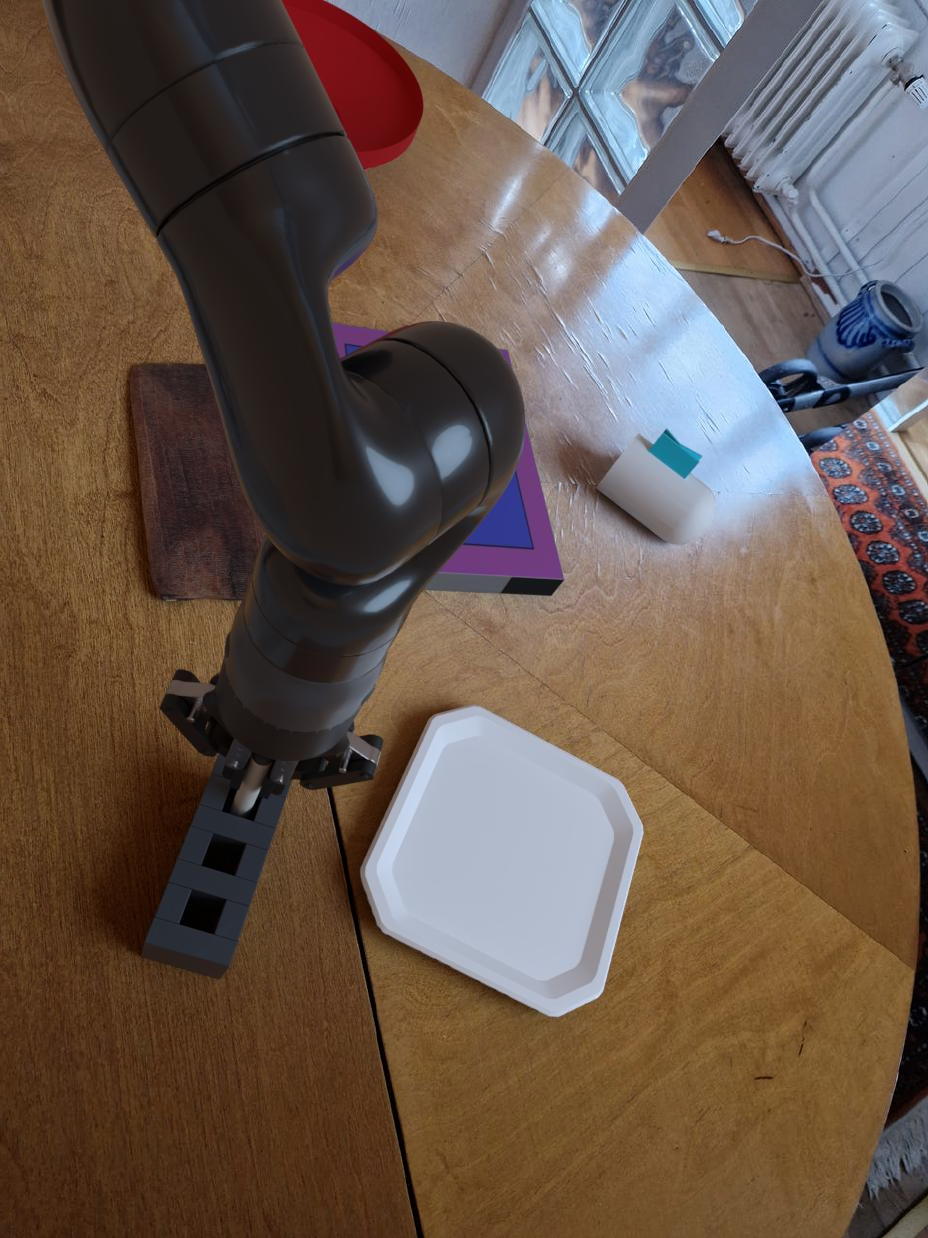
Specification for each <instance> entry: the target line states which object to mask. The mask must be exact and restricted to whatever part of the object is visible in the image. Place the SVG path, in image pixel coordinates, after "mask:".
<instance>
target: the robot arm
mask: <svg viewBox="0 0 928 1238" xmlns="http://www.w3.org/2000/svg"><path fill="white" fill-rule="evenodd" d="M41 4H42V7H43V11H44V14H45V17H46V21H47V25H48V28H49V32H50V35H51V38H52V40H53V43H54V46H55V49H56V52H57V55H58V57H59V60H60V62H61V65H62V67H63V70H64V72H65V74H66V76H67V80H68V81H69V84H70V86H71V88H72V91H73V94H74V95H75V97H76V100H77V101H78V104H79V106H80V107H81V110H82V111H83V113H84V116H85V118H86V120H87V121H88V123H89V126H90V127H91V129H92V131H93V133H94V135H95V136H96V138H97V140H98V142H99V144H100V145H101V147H102V148H103V150H104V153H105V154H106V156H107V157H108V160H109V161H110V163H111V165H112V167H113V168H114V170H115V172H116V174H117V175H118V177H119V178H120V181H121V182H122V184H123V186H124V188H125V189H126V192H127V193H128V195H129V196H130V198H131V200H132V201H133V203H134V205H135V207H136V209H137V210H138V212H139V214H140V216H141V217H142V219H143V221H144V223H145V224H146V226H147V228H148V230H149V232H150V233H151V235H152V236H153V237H154V239H156V242H157V245H158V247H159V249H160V250H161V252H162V254H163V255H164V257H165V258H166V260H167V262H168V263H169V265H170V267H171V269H172V271H173V273H174V276H175V277H176V279H177V283H178V285H179V287H180V290H181V292H182V293H181V294H182V295H183V298H184V301H185V304H186V308H187V310H188V315H189V317H190V320H191V323H192V327H193V330H194V334H195V337H196V340H197V344H198V347H199V350H200V353H201V357H202V359H203V362H204V364H205V365H206V368H207V371H208V374H209V377H210V381H211V384H212V388H213V391H214V395H215V398H216V402H217V406H218V409H219V413H220V417H221V421H222V425H223V429H224V432H225V436H226V440H227V444H228V448H229V451H230V455H231V459H232V462H233V466H234V469H235V472H236V475H237V478H238V481H239V484H240V487H241V489H242V492H243V495H244V497H245V499H246V501H247V504H248V506H249V508H250V510H251V512H252V514H253V516H254V518H255V519H256V521H257V522H258V524H259V525H260V527H261V528H262V530H263V531H264V533H265V536H264V538H263V541H262V543H261V545H260V547H259V550H258V552H257V556H256V559H255V563H254V567H253V570H252V574H251V578H250V581H249V585H248V589H247V593H246V595H245V597H244V598H243V600H242V601H240V603H239V606H238V608H237V610H236V612H235V615H234V618H233V621H232V624H231V627H230V630H229V631H228V633H227V634H226V638H225V642H224V651H223V652H224V654H223V659H222V663H221V666H220V669H219V672H217V673H215V674H214V675H212V677H211V678H210V680H209V682H201V681H200V680H199V679H198V677H197V676H196V674H195V673H193V672H191V671H190V670H187V669H183V668H178V669H176V670H175V672H174V674H173V676H172V679H171V680H170V682H169V684H168V687H167V688H166V690H165V693H164V696H163V698H162V701H161V703H160V705H159V710H160V711H161V712H162V713H163V715H164V716H165V717H166V718H167V719H168V720H169V721H170V723H171V724H173V726H174V727H175V728H176V730H178V732H180V733H181V735H182V736H183V737H184V738H185V739H186V740H187V741H188V742H189V743H190V745H191V746H192V747H193V748H194V749H195V750H196V751H197V752H198V753H199V754H201V755H203V756H204V757H209V758H214V757H217V755H218V754H221V755H222V756H224V757H225V761H224V764H225V765H224V768H223V771H222V776H223V777H224V778H226V779H229V780H231V782H230V785H229V787H231V788H234V789H237V790H239V789H240V786H241V783H242V781H243V778H244V776H245V773H246V771H247V768H248V765H249V763H250V760H251V754H252V752H254V753H256V754H258V755H261V756H263V757H266V758H269V759H274V760H273V762H272V764H271V765H270V767H269V770H268V772H267V774H266V776H265V779H264V781H263V783H262V785H261V788H260V791H259V794H258V796H259V797H262V798H265V799H268V798H269V796H270V794H271V793H272V794H275V795H280V794H282V793H283V790H284V789H285V787H286V785H287V784H288V783H289V781H290V780H292V779H293V780H296V781H299V783H298V784H299V785H300V787H302V788H304V789H305V790H308V791H317V790H324V789H329V788H335V787H340V786H346V785H351V784H357V783H363V782H369V781H372V780H374V779H375V776H376V772H377V768H378V765H379V761H380V759H381V758H380V757H381V754H382V750H383V747H384V743H385V740H384V739H383V738H382V737H381V736H379V735H377V734H371V733H368V734H363V735H357V734H356V733H354V731H355V727H356V726H355V719H356V718H357V716H358V714H359V712H360V710H361V709H362V707H363V706H364V704H365V703H367V702H368V701H369V699H370V698H371V697H372V694H373V693H374V691H375V689H376V685H377V682H378V680H379V678H380V676H381V674H382V671H383V669H384V666H385V664H386V661H387V656H388V653H389V651H390V648H391V647H392V645H393V644H394V642H395V640H396V638H397V636H398V635H399V633H400V631H401V629H402V628H403V627H404V624H405V622H406V620H407V618H408V617H409V614H410V612H411V610H412V608H413V606H414V604H415V602H416V601H417V599H418V597H420V595H421V593H422V592H423V591H425V590H424V588H425V587H426V585H427V584H428V583H429V582H430V581H431V579H432V578H433V577H434V576H435V575H436V574H437V573H438V572H439V570H440V569H441V568H442V567H443V566H444V565H445V564H446V563H447V562H448V561H449V560H450V558H451V557H452V556H453V555H454V554H455V553H456V552H457V550H458V549H459V548H460V547H461V546H462V544H463V543H464V542H465V541H466V540H467V539H468V537H469V536H470V535H471V534H472V533H473V532H474V530H475V529H476V528H477V527H478V526H479V524H480V523H481V522H482V521H483V519H484V518H485V517H486V516H487V514H488V513H489V512H490V511H491V509H492V508H493V507H494V505H495V504H496V503H497V501H498V500H499V499H500V497H501V496H502V494H503V493H504V491H505V490H506V488H507V486H508V485H509V483H510V481H511V479H512V477H513V475H514V473H515V471H516V468H517V466H518V463H519V460H520V457H521V453H522V448H523V444H524V438H525V421H526V408H525V402H524V397H523V392H522V389H521V386H520V385H521V384H520V383H519V380H518V378H517V375H516V373H515V371H514V368H513V366H512V367H511V365H510V364H509V362H508V361H507V359H506V358H505V357H504V355H503V354H502V353H501V351H500V350H499V349H500V348H498V347H497V346H496V345H495V344H494V343H493V342H492V341H490V340H489V339H487V338H486V337H485V336H484V335H482V334H481V333H479V332H477V331H476V330H474V329H472V328H470V327H468V326H465V325H463V324H460V323H456V322H451V321H442V320H441V321H440V320H425V321H419V322H416V323H412V324H411V323H410V324H407V325H403V326H400V327H398V328H396V329H393V330H391V331H390V332H389V333H387V334H385V335H384V336H382V337H380V338H378V339H376V340H374V341H372V342H370V343H368V344H367V345H364V346H363V347H361V348H359V349H357V350H355V351H353V352H351V353H350V354H348V355H346V356H344V357H342V358H340V357H339V353H338V350H337V346H336V341H335V336H334V331H333V325H332V322H333V320H332V314H331V308H330V299H329V286H330V284H331V283H332V282H333V281H334V280H335V279H337V277H339V276H340V275H342V273H344V272H345V271H346V270H348V268H350V267H351V266H352V265H353V264H354V263H355V262H357V260H358V259H359V258H360V257H361V256H362V255H364V253H365V252H366V251H367V249H368V248H369V247H370V245H371V244H372V242H373V240H374V237H375V235H376V233H377V230H378V225H379V211H378V206H377V201H376V198H375V194H374V192H373V189H372V186H371V184H370V180H369V178H368V176H367V174H366V172H365V169H363V167H362V165H361V163H360V160H359V158H358V156H357V154H356V152H355V150H354V148H353V146H352V144H351V142H350V140H349V139H348V138H347V134H346V132H345V130H344V128H343V126H342V124H341V121H340V119H339V117H338V115H337V113H336V111H335V109H334V107H333V105H332V103H331V101H330V99H329V97H328V95H327V93H326V91H325V89H324V87H323V85H322V82H321V80H320V78H319V76H318V74H317V72H316V70H315V68H314V66H313V64H312V62H311V60H310V58H309V56H308V54H307V52H306V50H305V47H304V45H303V43H302V41H301V39H300V37H299V35H298V33H297V31H296V29H295V27H294V25H293V23H292V21H291V19H290V17H289V15H288V13H287V11H286V9H285V7H284V5H283V3H282V1H281V0H41ZM512 368H513V369H512ZM293 780H292V781H293Z"/></svg>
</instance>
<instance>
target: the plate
mask: <svg viewBox="0 0 928 1238" xmlns="http://www.w3.org/2000/svg"><path fill="white" fill-rule="evenodd" d="M643 837H644V824H643V823H642V820H641V818H640V816H639V814H638V812H637V810H636V808H635V806H634V804H633V802H632V800H631V798H630V795H629V793H628V791H627V789H626V787H625V785H624V784H623V783H622V782H621V781H620V780H619V779H618V778H616V777H615V776H613V775H611V774H609V773H607V772H605V771H604V770H601V769H600V768H597V767H596V766H593V765H592V764H590V763H589V762H586V761H584V760H583V759H581V758H578V757H577V756H575V755H573V754H571V753H569V752H568V751H566V750H564V749H562V748H560V747H558V746H556V745H554V744H553V743H550V742H549V741H547V740H545V739H543V738H541V737H540V736H538V735H536V734H534V733H532V732H530V731H528V730H527V729H525V728H522V727H521V726H518V725H517V724H515V723H513V722H511V721H509V720H508V719H505V718H504V717H502V716H500V715H498V714H496V713H494V712H492V711H490V710H489V709H487V708H485V707H483V706H482V705H479V704H468V705H465V706H461V707H458V708H453V709H449V710H446V711H442V712H438V713H435V714H433V715H432V716H430V717H429V718H428V719H427V721H426V724H425V726H424V728H423V730H422V732H421V734H420V737H419V738H418V741H417V742H416V745H415V747H414V749H413V752H412V754H411V756H410V758H409V761H408V763H407V765H406V766H405V769H404V771H403V773H402V776H401V778H400V780H399V783H398V784H397V786H396V789H395V791H394V793H393V795H392V797H391V800H390V801H389V804H388V806H387V809H386V811H385V812H384V815H383V817H382V819H381V821H380V823H379V826H378V828H377V830H376V832H375V834H374V837H373V838H372V841H371V843H370V844H369V845H370V846H369V847H368V850H367V853H366V854H365V855H364V858H363V861H362V863H361V865H360V868H359V880H360V882H361V885H362V888H363V890H364V891H363V892H364V894H365V897H366V900H367V902H368V905H369V909H370V910H371V911H370V912H371V914H372V917H373V919H374V922H375V925H376V927H377V928H378V929H379V930H380V932H381V933H382V934H384V935H386V936H387V937H390V938H392V939H394V940H396V941H397V942H399V943H401V944H404V945H406V946H407V947H409V948H411V949H414V950H416V951H417V952H420V953H421V954H423V955H426V956H427V957H429V958H431V959H433V960H435V961H437V962H439V963H441V964H443V965H445V966H447V967H449V968H451V969H453V970H454V971H457V972H459V973H461V974H463V975H465V976H467V977H469V978H471V979H473V980H474V981H477V982H479V983H481V984H483V985H484V986H487V987H489V988H491V989H492V990H495V991H497V992H499V993H500V994H503V995H504V996H507V997H508V998H510V999H513V1000H515V1001H516V1002H519V1003H520V1004H522V1005H524V1006H527V1007H528V1008H531V1009H532V1010H534V1011H536V1012H538V1013H540V1014H542V1015H544V1016H546V1017H548V1018H559V1017H561V1016H564V1015H566V1014H568V1013H570V1012H572V1011H574V1010H576V1009H578V1008H580V1007H582V1006H584V1005H587V1004H588V1003H591V1002H593V1001H594V1000H597V999H598V998H599V997H600V996H601V994H602V993H603V992H604V990H605V985H606V982H607V977H608V975H609V969H610V965H611V963H612V958H613V955H614V951H615V946H616V943H617V938H618V934H619V932H620V931H619V930H620V926H621V922H622V918H623V915H624V911H625V907H626V904H627V899H628V895H629V891H630V887H631V883H632V879H633V876H634V872H635V869H636V863H637V860H638V856H639V852H640V848H641V844H642V841H643Z"/></svg>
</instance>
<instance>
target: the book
mask: <svg viewBox="0 0 928 1238" xmlns="http://www.w3.org/2000/svg"><path fill="white" fill-rule="evenodd" d="M332 325H333V331H334V336H335V341H336V346H337V350H338V353H339V357H340V358H342V357H344V356H346V355H348V354H350V353H351V352H353V351H355V350H357V349H359V348H361V347H363V346H364V345H367V344H368V343H370V342H372V341H374V340H376V339H378V338H380V337H382V336H384V335H385V334H387V333H389V332H391V331H389V330H382V329H378V328H377V329H376V328H370V327H365V326H357V325H353V324H352V325H351V324H345V323H338V322H333V321H332ZM498 349H499V350H500V351H501V353H502V354H503V355H504V357H505V358H506V359H507V361H508V362H509V364H510V365H511V367H512V369H513V370H514V368H513V366H512V365H513V364H512V361H511V357H510V352H509V350H508V349H504V348H498ZM530 437H531V436H530V434H529V429H528V426H527V421H526V420H525V438H524V444H523V448H522V453H521V457H520V460H519V463H518V466H517V468H516V471H515V473H514V475H513V477H512V479H511V481H510V483H509V485H508V486H507V488H506V490H505V491H504V493H503V494H502V496H501V497H500V499H499V500H498V501H497V503H496V504H495V505H494V507H493V508H492V509H491V511H490V512H489V513H488V514H487V516H486V517H485V518H484V519H483V521H482V522H481V523H480V524H479V526H478V527H477V528H476V529H475V530H474V532H473V533H472V534H471V535H470V536H469V537H468V539H467V540H466V541H465V542H464V543H463V544H462V546H461V547H460V548H459V549H458V550H457V552H456V553H455V554H454V555H453V556H452V557H451V558H450V560H449V561H448V562H447V563H446V564H445V565H444V566H443V567H442V568H441V569H440V570H439V572H438V573H437V574H436V575H435V576H434V577H433V578H432V579H431V581H430V582H429V583H428V584H427V585H426V587H425V588H424V590H423V591H435V592H437V591H439V592H458V593H459V592H462V593H478V594H479V593H481V594H503V595H526V596H542V597H543V596H544V597H545V596H547V597H552V596H553V594H554V593H555V592H556V591H557V590H558V588H559V587H560V586H561V585H562V584H563V582H564V581H565V577H564V573H563V569H562V564H561V560H560V556H559V552H558V547H557V543H556V540H555V536H554V535H555V534H554V531H553V528H552V527H553V526H552V523H551V520H550V519H551V518H550V515H549V511H548V507H547V503H546V499H545V495H544V491H543V486H542V482H541V478H540V475H539V470H538V467H537V463H536V459H535V453H534V450H533V446H532V442H531V438H530Z"/></svg>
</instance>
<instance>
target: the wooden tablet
mask: <svg viewBox="0 0 928 1238" xmlns="http://www.w3.org/2000/svg"><path fill="white" fill-rule="evenodd" d="M130 373H131V374H130V377H129V396H130V397H129V398H130V399H129V400H130V406H131V407H130V408H131V414H132V420H133V429H134V437H135V444H136V451H137V461H138V462H137V463H138V471H139V472H138V473H139V474H138V475H139V485H140V495H141V496H140V497H141V506H142V512H143V523H144V530H145V539H146V549H147V558H148V559H147V560H148V566H149V573H150V577H151V582H152V585H153V589H154V592H155V593H156V595H157V598H159V599H160V600H161V601H163V602H169V603H171V602H183V601H184V602H186V601H194V600H203V599H215V600H221V601H231V602H235V601H236V602H237V601H238V602H242V600H243V598H244V597H245V595H246V593H247V589H248V585H249V581H250V578H251V574H252V570H253V567H254V563H255V559H256V556H257V552H258V550H259V547H260V545H261V543H262V541H263V538H264V536H265V533H264V531H263V530H262V528H261V527H260V525H259V524H258V522H257V521H256V519H255V518H254V516H253V514H252V512H251V510H250V508H249V506H248V504H247V501H246V499H245V497H244V495H243V492H242V489H241V487H240V484H239V481H238V478H237V475H236V472H235V469H234V466H233V462H232V459H231V455H230V451H229V448H228V444H227V440H226V436H225V432H224V429H223V425H222V421H221V417H220V413H219V409H218V406H217V402H216V398H215V395H214V391H213V388H212V384H211V381H210V377H209V374H208V371H207V368H206V365H205V363H188V362H187V363H185V362H172V363H171V364H169V363H163V362H152V363H143V364H138V365H135V366H133V367H132V369H131V372H130Z"/></svg>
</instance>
